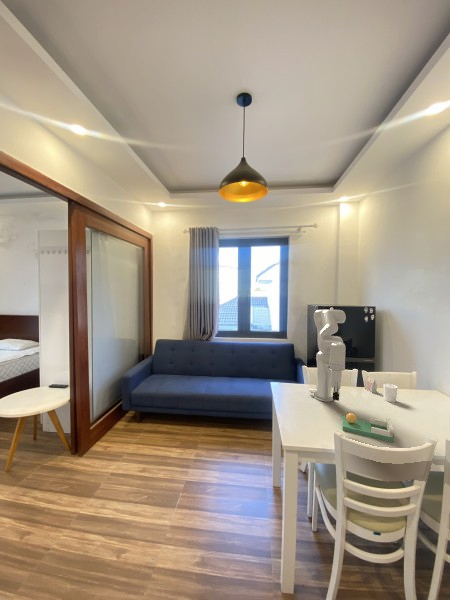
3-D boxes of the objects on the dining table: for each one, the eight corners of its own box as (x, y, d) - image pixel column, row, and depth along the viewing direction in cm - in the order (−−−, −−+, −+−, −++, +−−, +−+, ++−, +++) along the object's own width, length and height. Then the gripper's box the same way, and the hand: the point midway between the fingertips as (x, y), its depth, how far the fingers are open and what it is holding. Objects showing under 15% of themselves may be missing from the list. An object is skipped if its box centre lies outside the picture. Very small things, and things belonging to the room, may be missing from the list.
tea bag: (369, 389, 184) (370, 375, 183) (376, 392, 177) (377, 379, 176) (365, 389, 183) (365, 375, 183) (371, 392, 176) (372, 379, 176)
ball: (345, 423, 130) (346, 414, 130) (345, 419, 135) (346, 410, 134) (356, 426, 128) (357, 416, 128) (356, 421, 132) (356, 412, 132)
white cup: (379, 397, 168) (380, 383, 168) (390, 397, 169) (391, 383, 169) (388, 403, 161) (389, 388, 160) (399, 402, 161) (400, 387, 161)
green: (342, 430, 128) (343, 418, 128) (342, 419, 139) (343, 408, 138) (393, 442, 118) (393, 430, 118) (389, 429, 129) (389, 418, 129)
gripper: (330, 362, 142) (329, 393, 142) (328, 368, 128) (327, 403, 129) (344, 364, 139) (343, 396, 139) (344, 370, 125) (343, 406, 125)
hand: (335, 399), depth 134 cm, fingers closed
